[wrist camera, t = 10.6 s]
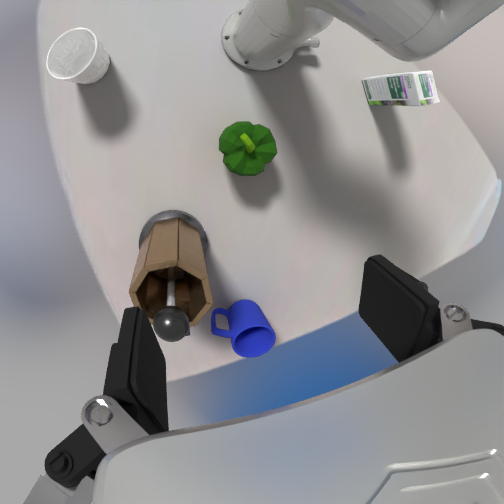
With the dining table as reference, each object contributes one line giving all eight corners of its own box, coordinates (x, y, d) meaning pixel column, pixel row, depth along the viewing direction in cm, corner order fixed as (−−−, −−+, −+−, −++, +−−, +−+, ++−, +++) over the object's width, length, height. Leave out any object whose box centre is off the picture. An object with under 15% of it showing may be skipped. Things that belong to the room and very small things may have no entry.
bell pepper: (270, 161, 47) (291, 170, 38) (224, 175, 46) (235, 188, 37) (257, 114, 43) (275, 112, 34) (209, 129, 42) (216, 129, 34)
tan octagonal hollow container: (200, 204, 47) (210, 244, 32) (213, 275, 54) (228, 336, 38) (132, 217, 45) (111, 264, 30) (152, 287, 52) (146, 351, 36)
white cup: (93, 95, 35) (71, 89, 26) (62, 75, 31) (36, 66, 23) (123, 57, 33) (108, 40, 24) (91, 37, 30) (71, 20, 21)
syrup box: (360, 78, 43) (411, 72, 31) (382, 74, 44) (433, 70, 31) (368, 105, 46) (420, 107, 33) (389, 100, 46) (441, 102, 34)
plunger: (191, 230, 43) (199, 299, 26) (199, 273, 46) (213, 353, 30) (143, 240, 41) (124, 313, 25) (155, 281, 45) (148, 364, 29)
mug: (214, 285, 55) (221, 316, 46) (268, 299, 59) (283, 329, 50) (200, 317, 57) (205, 351, 48) (252, 328, 62) (264, 360, 53)
